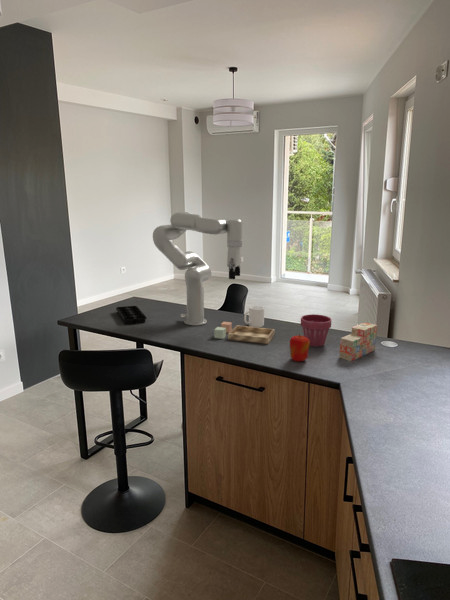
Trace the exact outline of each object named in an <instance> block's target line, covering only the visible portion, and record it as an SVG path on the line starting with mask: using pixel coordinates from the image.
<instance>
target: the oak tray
mask: <svg viewBox="0 0 450 600" xmlns="http://www.w3.org/2000/svg"><path fill="white" fill-rule="evenodd" d="M275 331H276V330H275V329H274V328H265V327H259V328H257V327H250V326H249V325H248V326H247V325H236V326H234V327H233V328H232V331H231V332H229V333H227V340H229V341H238V342H246V343H255V344H262V345H268V344H270V342H271V341H272V339H273V337H274V336H275Z"/></svg>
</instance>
